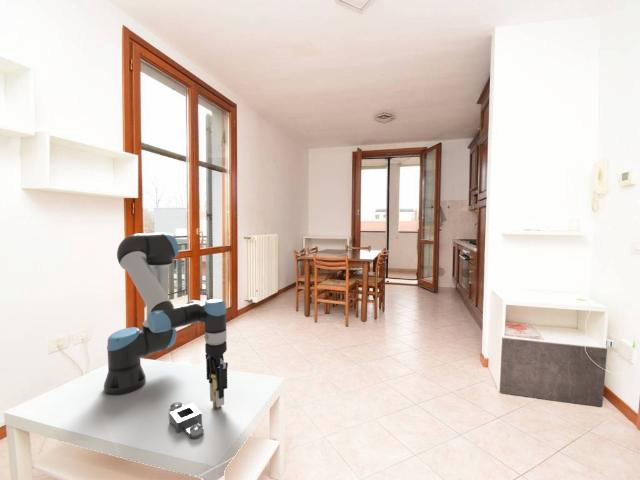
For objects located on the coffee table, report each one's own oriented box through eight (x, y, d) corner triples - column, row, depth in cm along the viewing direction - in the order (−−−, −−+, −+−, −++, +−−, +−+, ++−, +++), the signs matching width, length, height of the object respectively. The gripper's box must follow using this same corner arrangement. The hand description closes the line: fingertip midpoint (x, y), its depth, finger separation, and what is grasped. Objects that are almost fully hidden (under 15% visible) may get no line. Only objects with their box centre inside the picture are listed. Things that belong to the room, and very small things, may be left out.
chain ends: (162, 413, 116) (162, 403, 116) (185, 404, 122) (185, 395, 122) (186, 443, 100) (185, 433, 100) (210, 432, 106) (210, 422, 106)
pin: (209, 407, 120) (209, 373, 119) (219, 403, 123) (219, 370, 122) (214, 411, 117) (213, 377, 117) (224, 407, 120) (224, 373, 119)
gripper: (196, 337, 122) (197, 397, 124) (217, 351, 110) (218, 417, 111) (214, 333, 128) (216, 389, 129) (237, 345, 115) (237, 408, 116)
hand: (217, 402), depth 120 cm, fingers open, 4 cm apart
